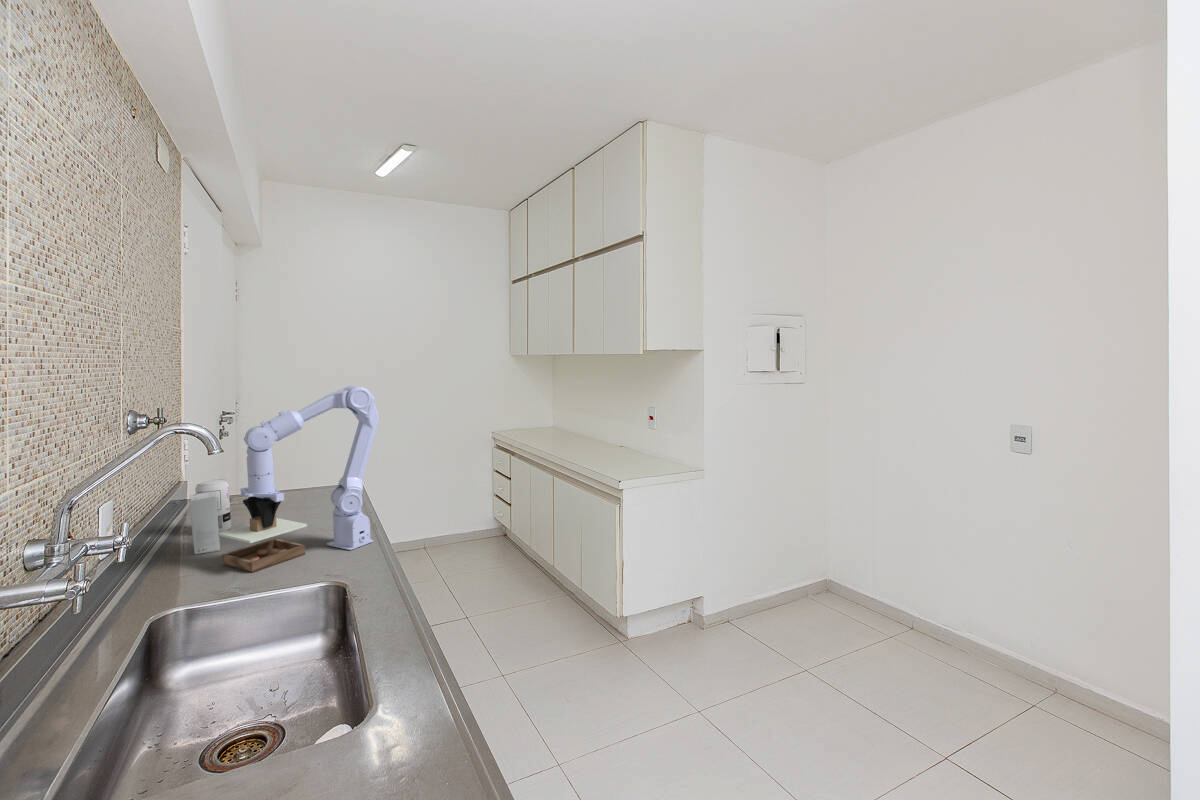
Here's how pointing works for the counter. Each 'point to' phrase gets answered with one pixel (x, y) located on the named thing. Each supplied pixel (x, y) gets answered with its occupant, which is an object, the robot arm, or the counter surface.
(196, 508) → the skincare box
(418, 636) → the counter surface
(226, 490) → the supplement can
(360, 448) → the robot arm
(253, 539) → the lid
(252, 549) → the box
